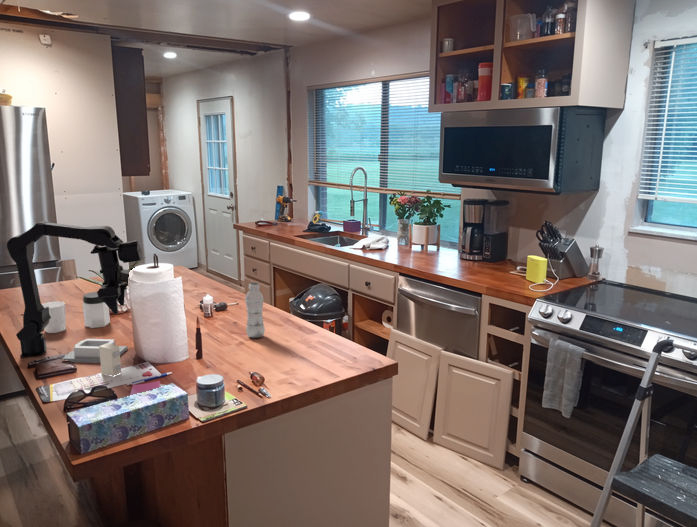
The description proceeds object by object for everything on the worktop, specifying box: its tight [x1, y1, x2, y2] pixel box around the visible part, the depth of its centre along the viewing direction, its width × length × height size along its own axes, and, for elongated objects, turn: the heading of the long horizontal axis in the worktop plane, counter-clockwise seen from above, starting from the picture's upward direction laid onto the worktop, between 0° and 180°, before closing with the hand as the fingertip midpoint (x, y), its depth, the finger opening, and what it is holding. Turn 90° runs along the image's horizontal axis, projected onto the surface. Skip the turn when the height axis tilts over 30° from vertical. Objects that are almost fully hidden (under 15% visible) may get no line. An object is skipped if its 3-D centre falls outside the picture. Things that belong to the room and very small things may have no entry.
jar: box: [82, 291, 111, 329], centre depth 211 cm, size 9×8×12 cm
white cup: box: [41, 300, 67, 334], centre depth 205 cm, size 8×8×10 cm
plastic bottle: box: [244, 282, 266, 339], centre depth 200 cm, size 6×7×20 cm
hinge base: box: [61, 338, 128, 364], centre depth 182 cm, size 16×12×4 cm
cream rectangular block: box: [99, 343, 122, 376], centre depth 168 cm, size 6×3×9 cm, turn 65°
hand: (119, 309), depth 185 cm, fingers open, 9 cm apart
